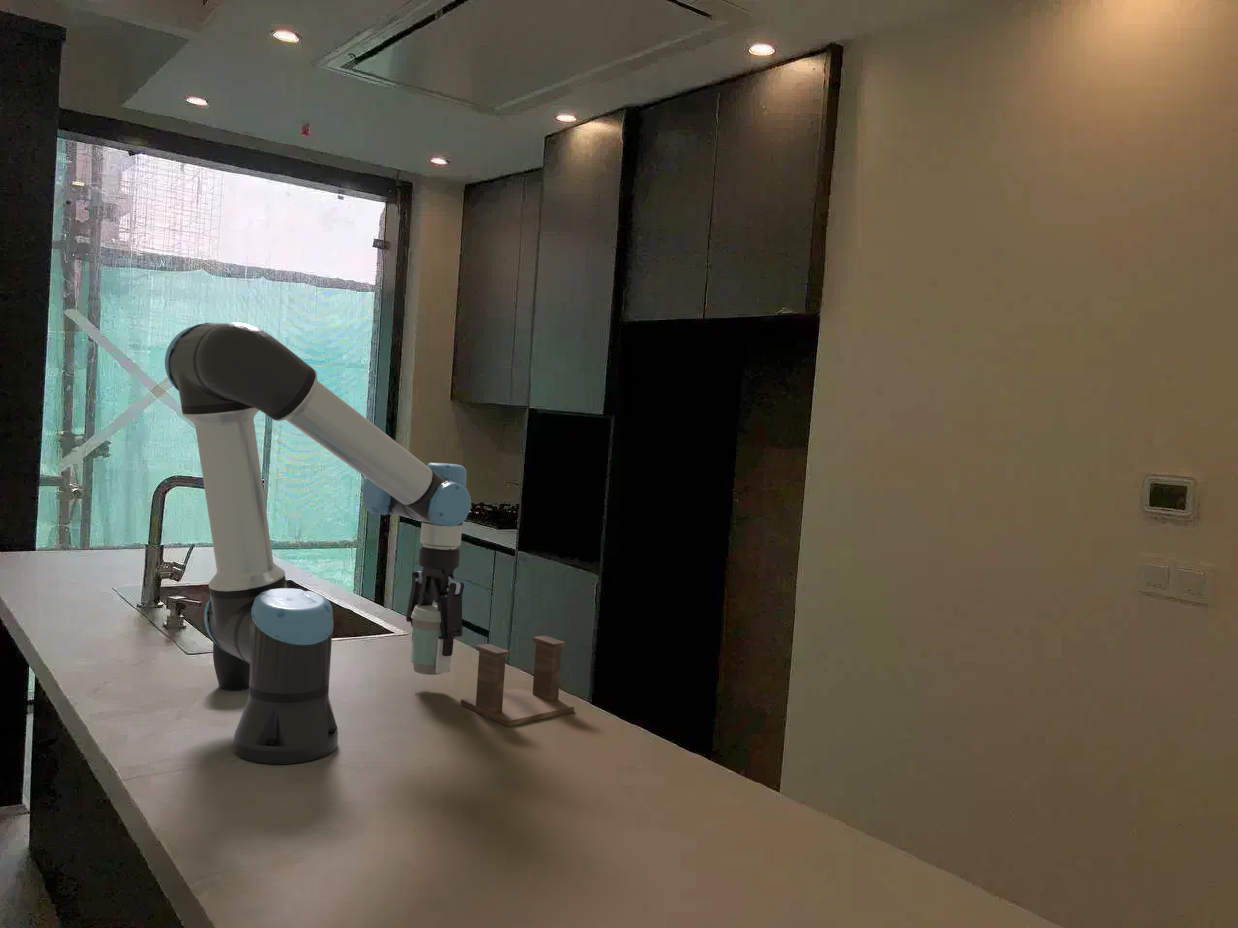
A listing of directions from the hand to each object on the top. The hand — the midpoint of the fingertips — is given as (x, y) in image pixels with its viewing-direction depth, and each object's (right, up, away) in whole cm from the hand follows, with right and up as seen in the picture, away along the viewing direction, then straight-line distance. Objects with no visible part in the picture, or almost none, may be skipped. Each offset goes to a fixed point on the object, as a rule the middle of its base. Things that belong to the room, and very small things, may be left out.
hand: (429, 666), depth 183 cm
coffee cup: (0, -1, 0) cm, 1 cm away
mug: (-33, -3, -4) cm, 33 cm away
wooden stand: (+17, -6, -6) cm, 19 cm away
